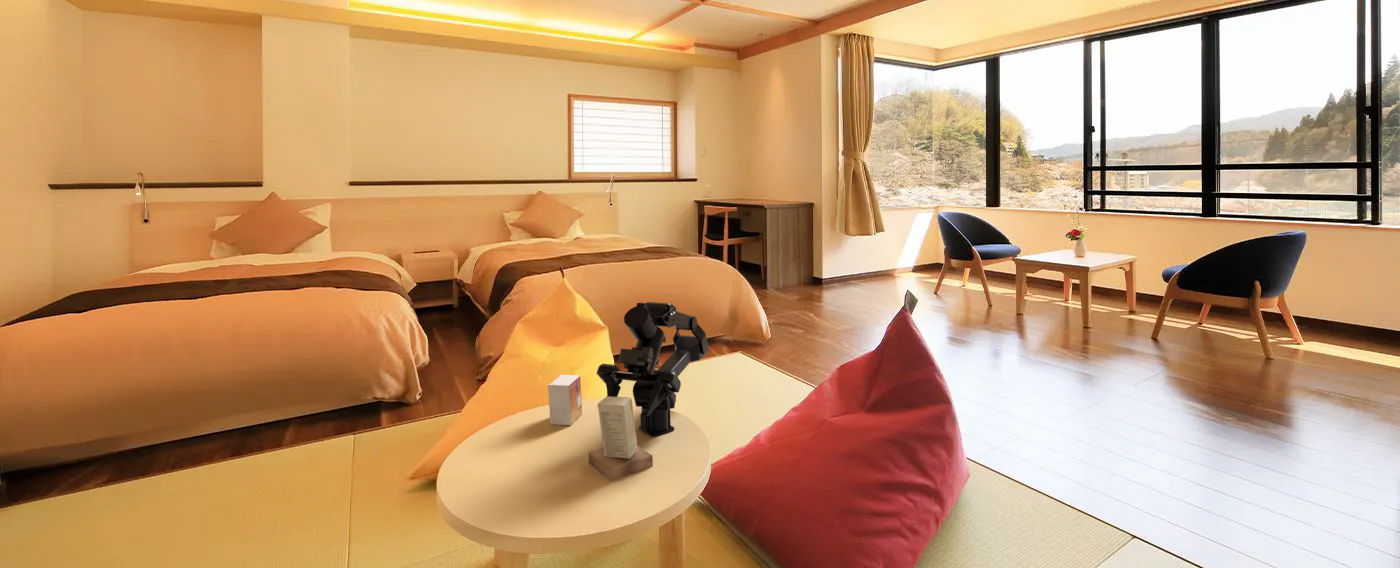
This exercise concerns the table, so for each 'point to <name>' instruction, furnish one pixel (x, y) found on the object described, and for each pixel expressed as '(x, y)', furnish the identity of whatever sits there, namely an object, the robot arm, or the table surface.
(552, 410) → the small box
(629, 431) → the skincare box
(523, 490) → the table surface
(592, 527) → the table surface
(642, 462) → the walnut block
